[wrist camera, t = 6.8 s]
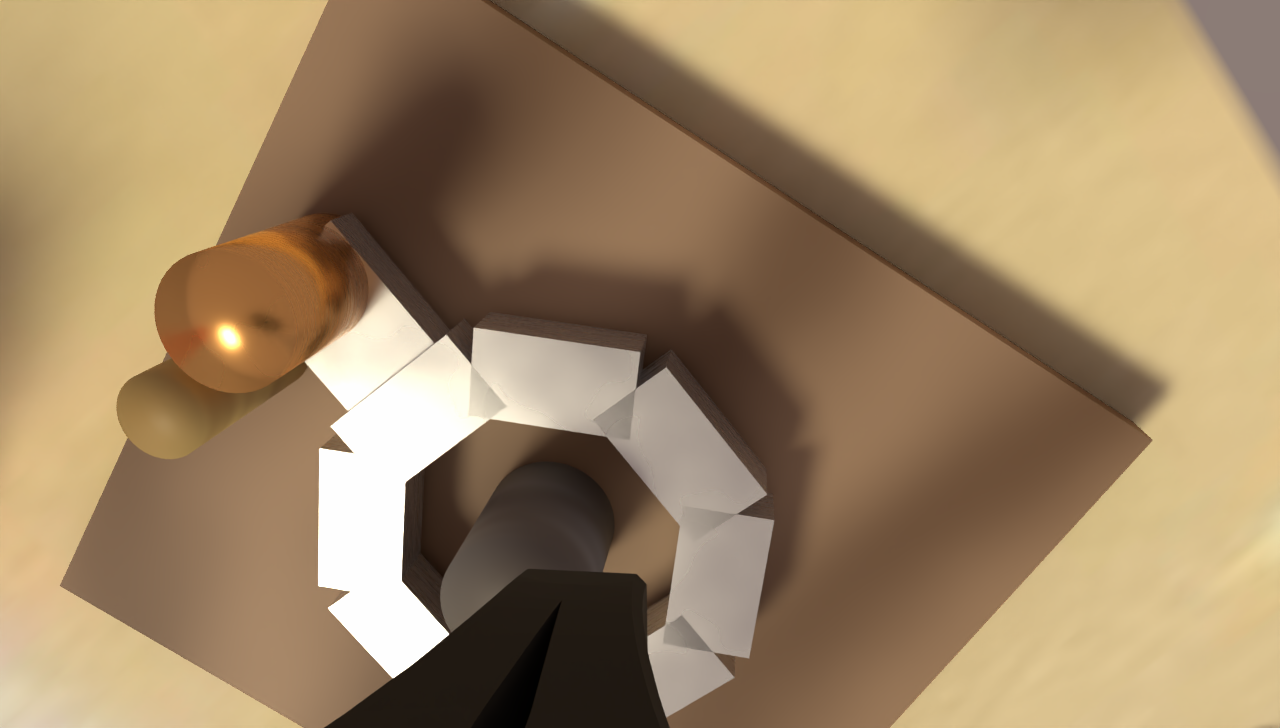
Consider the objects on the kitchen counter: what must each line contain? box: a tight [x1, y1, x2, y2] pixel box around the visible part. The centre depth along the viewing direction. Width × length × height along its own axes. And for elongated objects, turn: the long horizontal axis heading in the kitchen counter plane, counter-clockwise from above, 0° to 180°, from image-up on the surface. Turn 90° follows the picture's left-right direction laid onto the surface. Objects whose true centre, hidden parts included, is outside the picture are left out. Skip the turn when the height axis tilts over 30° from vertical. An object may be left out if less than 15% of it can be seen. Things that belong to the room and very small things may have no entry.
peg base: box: [60, 0, 1152, 728], centre depth 19 cm, size 18×17×5 cm
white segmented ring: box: [155, 213, 774, 717], centre depth 18 cm, size 13×9×4 cm
